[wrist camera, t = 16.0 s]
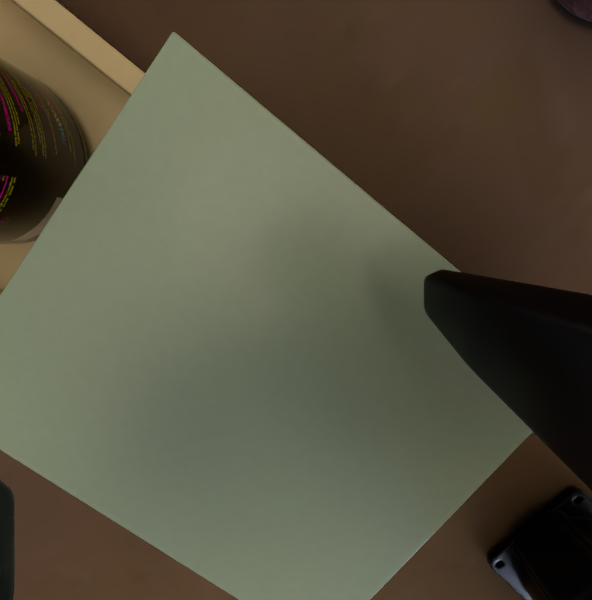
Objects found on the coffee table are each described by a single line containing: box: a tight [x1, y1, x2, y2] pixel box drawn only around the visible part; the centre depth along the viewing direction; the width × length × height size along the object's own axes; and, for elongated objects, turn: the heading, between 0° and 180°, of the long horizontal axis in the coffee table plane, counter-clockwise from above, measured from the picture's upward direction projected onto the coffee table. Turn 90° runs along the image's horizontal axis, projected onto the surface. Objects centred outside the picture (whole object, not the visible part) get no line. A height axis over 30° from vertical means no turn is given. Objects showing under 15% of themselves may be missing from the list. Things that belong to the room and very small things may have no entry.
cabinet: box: [0, 32, 533, 600], centre depth 16 cm, size 17×14×7 cm
